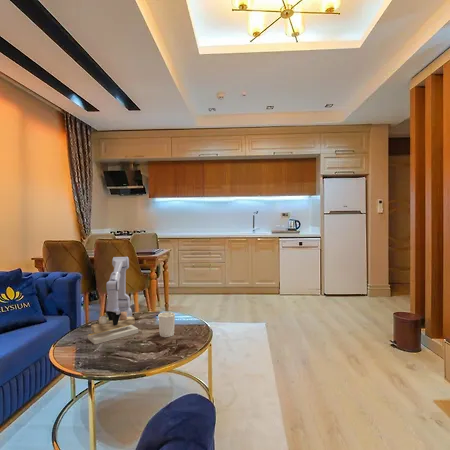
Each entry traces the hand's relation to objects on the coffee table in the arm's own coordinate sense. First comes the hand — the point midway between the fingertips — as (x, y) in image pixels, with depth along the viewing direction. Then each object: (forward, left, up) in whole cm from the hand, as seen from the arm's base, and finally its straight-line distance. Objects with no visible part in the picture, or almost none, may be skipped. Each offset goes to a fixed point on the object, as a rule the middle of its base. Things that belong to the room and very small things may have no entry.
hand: (113, 323), depth 187 cm
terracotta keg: (-6, 0, +2) cm, 6 cm away
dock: (0, 0, -7) cm, 7 cm away
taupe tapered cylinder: (+6, 0, +2) cm, 6 cm away
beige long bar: (0, 0, -2) cm, 2 cm away
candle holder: (-24, +20, -7) cm, 32 cm away
